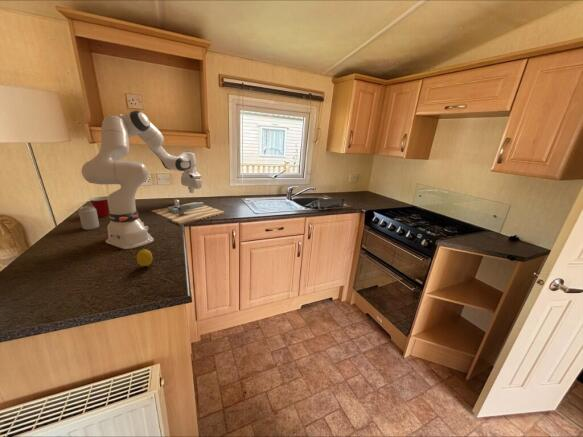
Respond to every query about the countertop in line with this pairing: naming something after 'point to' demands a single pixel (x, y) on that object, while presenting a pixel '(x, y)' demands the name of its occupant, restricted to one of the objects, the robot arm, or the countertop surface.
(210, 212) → the board
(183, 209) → the keeper
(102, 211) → the plastic cup
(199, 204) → the link
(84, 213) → the can
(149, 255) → the lemon
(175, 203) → the pin
